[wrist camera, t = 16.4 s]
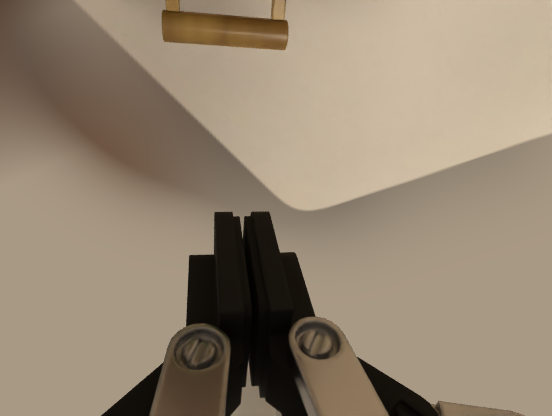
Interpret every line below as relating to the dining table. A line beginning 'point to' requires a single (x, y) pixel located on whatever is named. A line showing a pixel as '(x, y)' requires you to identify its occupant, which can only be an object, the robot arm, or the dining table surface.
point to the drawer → (225, 28)
